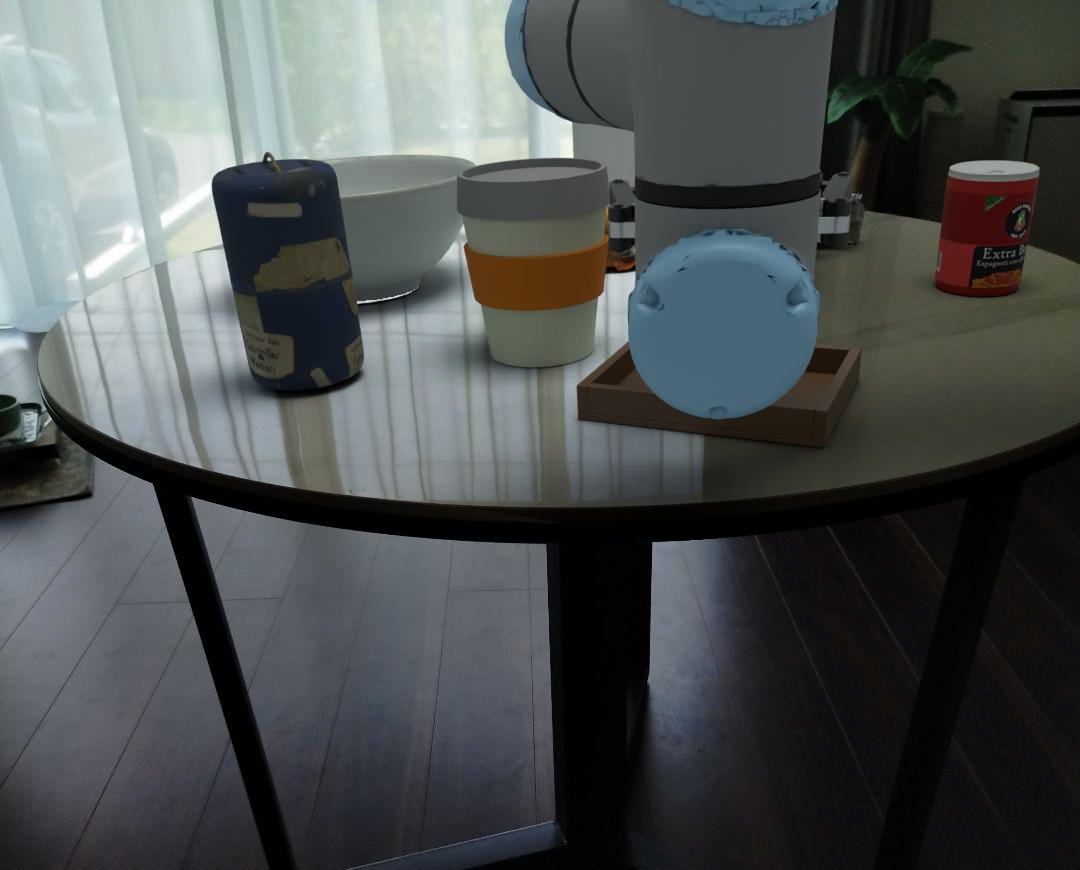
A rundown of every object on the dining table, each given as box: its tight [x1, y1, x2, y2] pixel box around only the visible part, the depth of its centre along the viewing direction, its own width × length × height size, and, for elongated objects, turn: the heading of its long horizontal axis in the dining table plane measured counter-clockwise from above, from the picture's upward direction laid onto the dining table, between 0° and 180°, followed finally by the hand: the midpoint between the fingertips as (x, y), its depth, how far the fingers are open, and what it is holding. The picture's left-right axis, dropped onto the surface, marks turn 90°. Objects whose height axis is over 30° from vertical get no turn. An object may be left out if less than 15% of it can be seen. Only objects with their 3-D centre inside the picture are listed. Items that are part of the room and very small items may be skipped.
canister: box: [211, 151, 365, 392], centre depth 79 cm, size 10×10×18 cm
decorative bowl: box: [318, 154, 477, 301], centre depth 106 cm, size 27×27×12 cm
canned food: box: [934, 159, 1040, 297], centre depth 94 cm, size 8×8×11 cm
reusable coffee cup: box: [457, 157, 610, 368], centre depth 83 cm, size 13×12×15 cm
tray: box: [576, 340, 863, 449], centre depth 73 cm, size 18×14×3 cm
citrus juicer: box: [571, 122, 636, 209], centre depth 128 cm, size 16×17×20 cm
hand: (728, 178), depth 71 cm, fingers closed on grey container, 8 cm apart
